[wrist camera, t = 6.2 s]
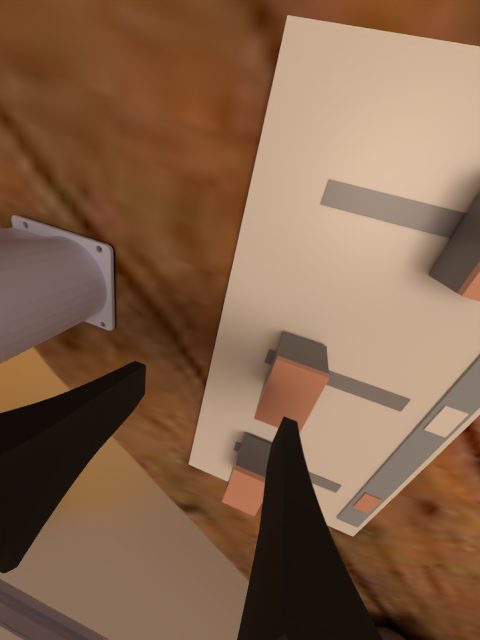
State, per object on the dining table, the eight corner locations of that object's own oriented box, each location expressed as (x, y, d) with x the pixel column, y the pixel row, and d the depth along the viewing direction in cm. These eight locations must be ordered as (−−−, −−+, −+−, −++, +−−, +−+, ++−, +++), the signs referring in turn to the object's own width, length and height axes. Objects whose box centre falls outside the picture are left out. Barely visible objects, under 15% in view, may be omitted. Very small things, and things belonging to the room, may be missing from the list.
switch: (233, 465, 24) (221, 501, 21) (244, 433, 22) (234, 469, 19) (261, 477, 24) (254, 516, 21) (277, 446, 21) (271, 485, 18)
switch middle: (263, 384, 19) (253, 418, 16) (283, 331, 17) (276, 359, 14) (300, 398, 19) (298, 435, 16) (326, 346, 16) (329, 378, 13)
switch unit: (194, 452, 28) (187, 467, 26) (290, 36, 12) (286, 9, 10) (351, 519, 26) (353, 540, 24) (738, 114, 9) (824, 96, 8)
